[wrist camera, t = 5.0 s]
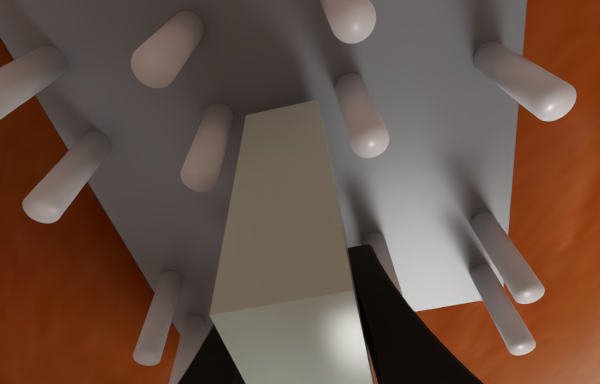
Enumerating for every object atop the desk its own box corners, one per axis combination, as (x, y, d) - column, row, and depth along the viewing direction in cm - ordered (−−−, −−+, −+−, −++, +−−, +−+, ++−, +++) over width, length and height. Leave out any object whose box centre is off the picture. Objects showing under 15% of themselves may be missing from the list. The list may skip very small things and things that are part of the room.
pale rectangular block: (353, 272, 18) (395, 489, 11) (299, 282, 18) (308, 501, 11) (318, 99, 13) (353, 290, 7) (246, 115, 13) (209, 315, 7)
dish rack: (494, 281, 21) (546, 372, 17) (192, 333, 22) (170, 428, 18) (520, -140, 11) (654, -173, 7) (-1, -3, 13) (-136, 35, 9)
